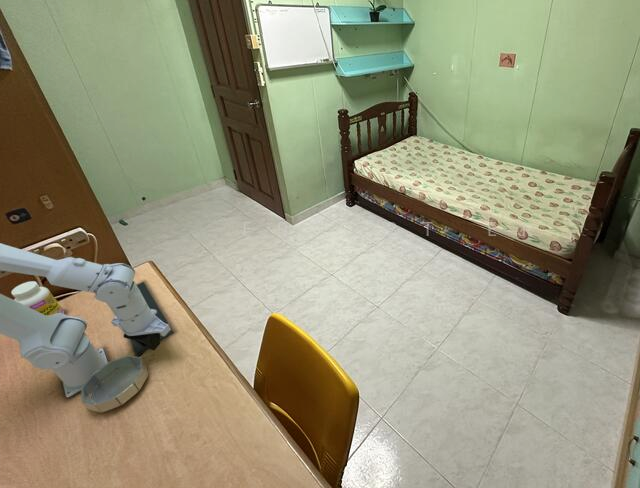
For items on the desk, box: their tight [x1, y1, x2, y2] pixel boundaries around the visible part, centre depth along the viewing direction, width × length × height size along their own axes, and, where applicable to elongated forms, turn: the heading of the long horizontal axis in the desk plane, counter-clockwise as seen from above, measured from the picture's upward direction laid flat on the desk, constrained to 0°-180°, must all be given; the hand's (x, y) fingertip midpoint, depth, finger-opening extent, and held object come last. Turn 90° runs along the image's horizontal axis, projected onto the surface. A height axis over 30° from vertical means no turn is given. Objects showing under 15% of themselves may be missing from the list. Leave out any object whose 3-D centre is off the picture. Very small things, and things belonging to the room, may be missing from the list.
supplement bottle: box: [10, 280, 65, 316], centre depth 86 cm, size 7×7×13 cm
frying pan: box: [80, 334, 161, 413], centre depth 76 cm, size 19×11×4 cm, turn 169°
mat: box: [129, 281, 175, 354], centre depth 91 cm, size 28×8×1 cm, turn 50°
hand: (153, 346), depth 80 cm, fingers closed on frying pan
